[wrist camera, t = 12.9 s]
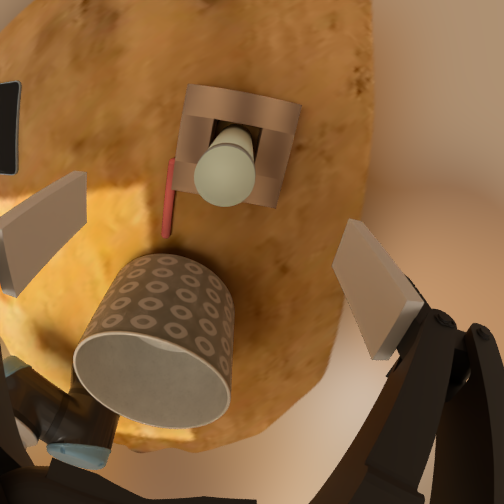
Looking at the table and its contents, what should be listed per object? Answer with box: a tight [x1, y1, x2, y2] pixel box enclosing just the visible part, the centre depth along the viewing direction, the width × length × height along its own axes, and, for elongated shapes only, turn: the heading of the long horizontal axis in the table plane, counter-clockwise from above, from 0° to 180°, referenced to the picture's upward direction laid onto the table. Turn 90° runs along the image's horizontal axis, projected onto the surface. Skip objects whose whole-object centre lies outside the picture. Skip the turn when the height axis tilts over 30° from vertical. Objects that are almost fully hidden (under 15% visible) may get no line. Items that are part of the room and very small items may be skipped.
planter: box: [73, 254, 235, 429], centre depth 39 cm, size 19×19×18 cm
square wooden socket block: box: [171, 84, 302, 209], centre depth 33 cm, size 12×12×5 cm
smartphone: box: [0, 81, 21, 175], centre depth 31 cm, size 7×1×15 cm
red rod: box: [161, 158, 175, 238], centre depth 38 cm, size 11×1×1 cm, turn 168°
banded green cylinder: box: [194, 124, 256, 207], centre depth 27 cm, size 4×4×18 cm
